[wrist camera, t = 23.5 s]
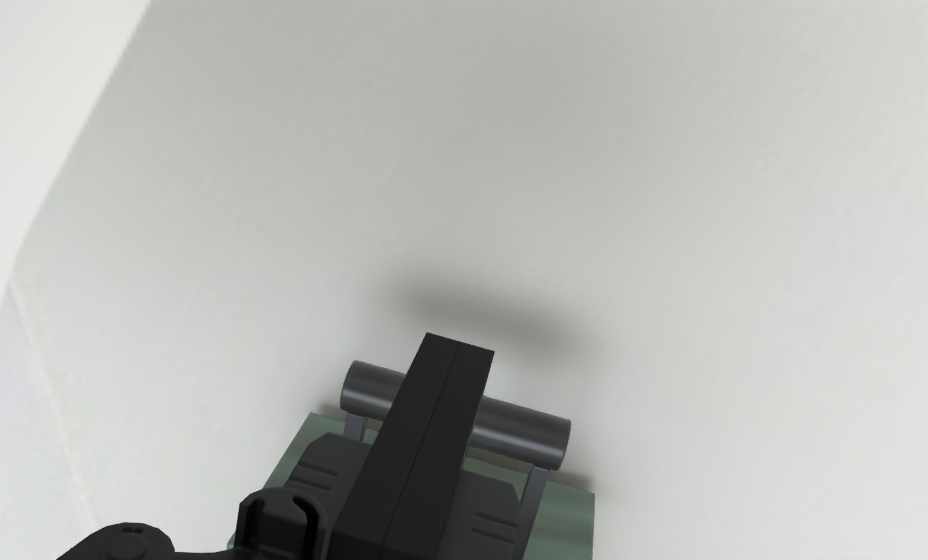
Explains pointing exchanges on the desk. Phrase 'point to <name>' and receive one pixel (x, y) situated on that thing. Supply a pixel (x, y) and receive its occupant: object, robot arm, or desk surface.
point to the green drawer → (477, 461)
